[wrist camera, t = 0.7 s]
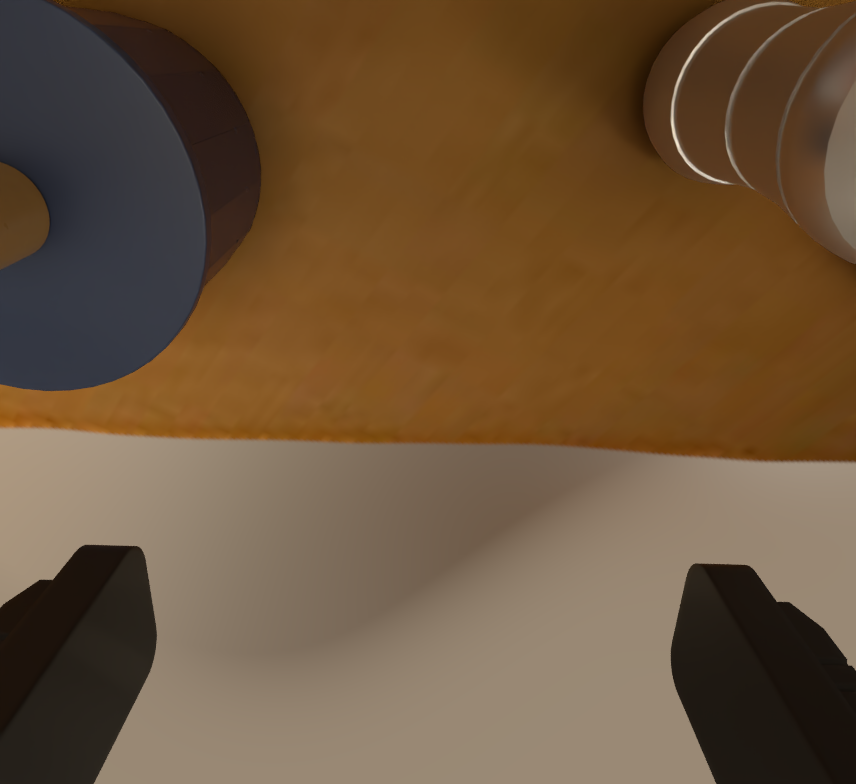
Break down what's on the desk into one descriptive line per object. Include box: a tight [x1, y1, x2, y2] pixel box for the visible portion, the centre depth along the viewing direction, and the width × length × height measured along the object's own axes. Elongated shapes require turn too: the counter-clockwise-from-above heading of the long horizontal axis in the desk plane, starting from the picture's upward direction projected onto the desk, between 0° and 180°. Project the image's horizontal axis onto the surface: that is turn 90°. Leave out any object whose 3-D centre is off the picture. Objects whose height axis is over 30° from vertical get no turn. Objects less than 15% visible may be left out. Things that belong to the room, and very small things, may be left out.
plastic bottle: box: [643, 0, 856, 264], centre depth 19 cm, size 6×7×20 cm
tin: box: [64, 6, 261, 286], centre depth 25 cm, size 11×11×10 cm
